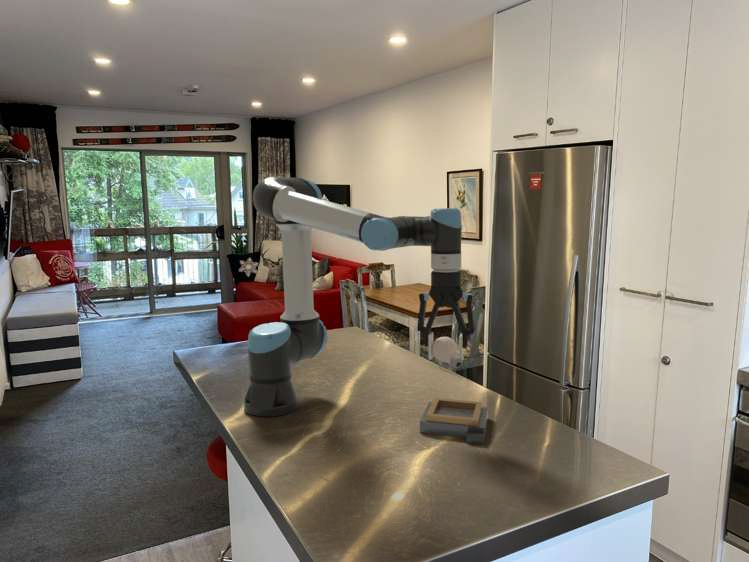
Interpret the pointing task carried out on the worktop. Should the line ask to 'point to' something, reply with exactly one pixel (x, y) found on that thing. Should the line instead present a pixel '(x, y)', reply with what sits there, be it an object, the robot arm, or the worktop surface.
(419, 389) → the worktop surface
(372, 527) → the worktop surface
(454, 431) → the grey brown-rimmed square tray
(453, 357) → the light bulb
